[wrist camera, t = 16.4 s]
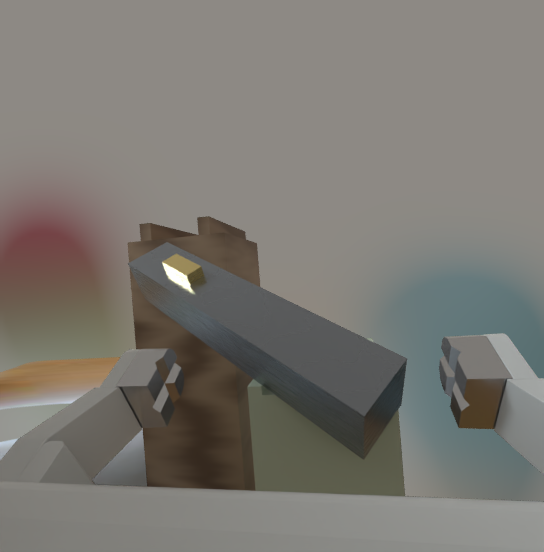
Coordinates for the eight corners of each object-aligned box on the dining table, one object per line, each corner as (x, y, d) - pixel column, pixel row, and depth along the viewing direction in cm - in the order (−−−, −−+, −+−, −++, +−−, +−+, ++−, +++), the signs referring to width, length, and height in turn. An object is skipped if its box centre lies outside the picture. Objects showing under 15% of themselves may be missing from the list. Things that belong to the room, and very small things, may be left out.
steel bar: (401, 404, 17) (408, 347, 15) (363, 459, 15) (364, 405, 13) (180, 276, 30) (164, 234, 27) (144, 299, 28) (123, 255, 25)
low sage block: (269, 668, 19) (247, 386, 19) (294, 517, 31) (280, 342, 31) (419, 689, 18) (396, 383, 18) (386, 522, 30) (371, 338, 30)
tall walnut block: (151, 533, 30) (126, 225, 30) (202, 460, 42) (184, 237, 42) (249, 540, 29) (223, 214, 29) (274, 461, 41) (255, 230, 40)
